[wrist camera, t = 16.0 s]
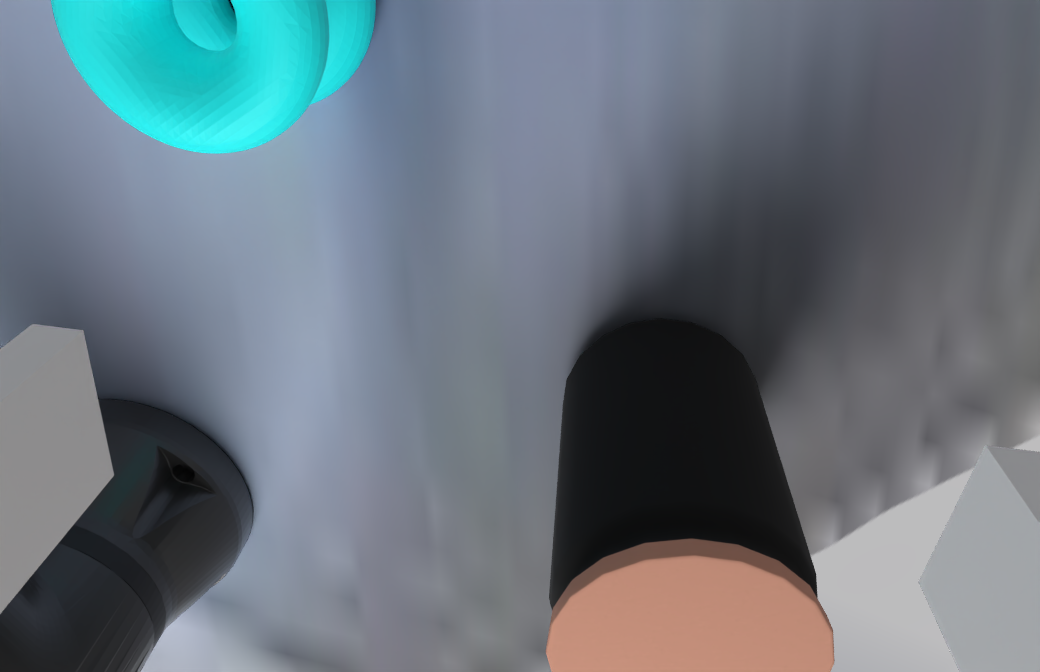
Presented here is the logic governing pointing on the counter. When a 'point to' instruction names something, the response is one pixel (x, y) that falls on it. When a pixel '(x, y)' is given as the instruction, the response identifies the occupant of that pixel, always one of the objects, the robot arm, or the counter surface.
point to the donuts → (214, 63)
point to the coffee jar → (676, 517)
